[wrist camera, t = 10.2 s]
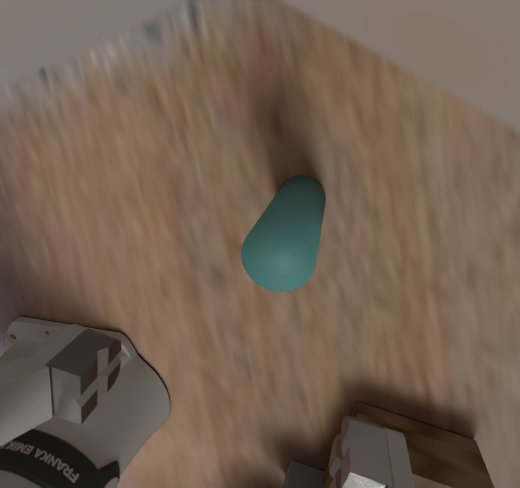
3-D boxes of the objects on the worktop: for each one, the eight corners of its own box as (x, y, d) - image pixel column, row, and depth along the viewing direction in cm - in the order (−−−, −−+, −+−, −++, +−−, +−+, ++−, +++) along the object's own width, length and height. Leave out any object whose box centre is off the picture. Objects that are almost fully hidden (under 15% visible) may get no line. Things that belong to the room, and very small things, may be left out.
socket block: (324, 471, 40) (321, 528, 35) (356, 401, 35) (359, 455, 30) (426, 508, 39) (440, 573, 34) (475, 440, 34) (500, 504, 29)
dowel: (273, 215, 30) (235, 279, 19) (284, 170, 28) (249, 213, 17) (318, 227, 29) (304, 300, 19) (331, 182, 28) (325, 234, 17)
